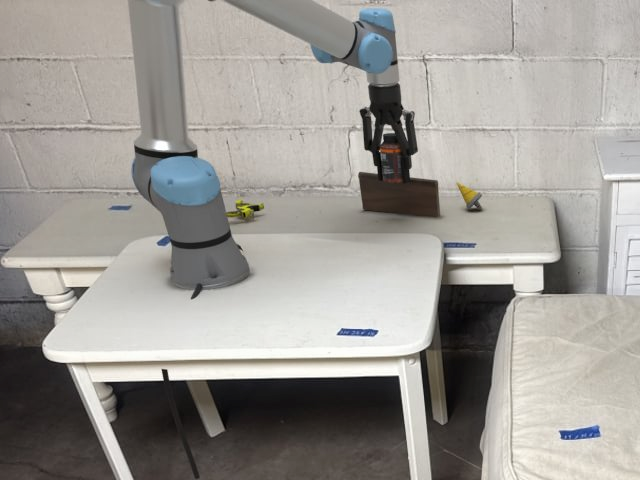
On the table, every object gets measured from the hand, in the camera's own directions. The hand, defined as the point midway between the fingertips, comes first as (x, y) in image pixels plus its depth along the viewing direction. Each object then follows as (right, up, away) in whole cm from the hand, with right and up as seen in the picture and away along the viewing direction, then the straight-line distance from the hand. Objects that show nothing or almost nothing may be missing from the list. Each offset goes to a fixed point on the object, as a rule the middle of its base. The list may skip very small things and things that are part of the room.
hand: (394, 180), depth 185 cm
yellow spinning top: (+18, -4, +14) cm, 23 cm away
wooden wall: (0, -5, +11) cm, 13 cm away
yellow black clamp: (-40, -8, +7) cm, 42 cm away
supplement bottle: (0, 0, 0) cm, 0 cm away
